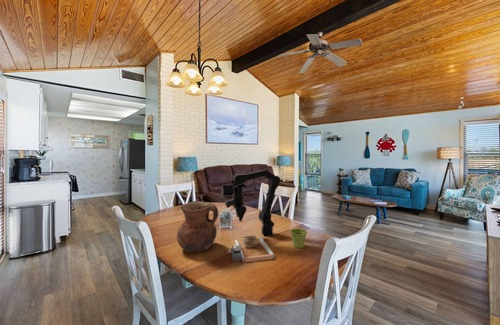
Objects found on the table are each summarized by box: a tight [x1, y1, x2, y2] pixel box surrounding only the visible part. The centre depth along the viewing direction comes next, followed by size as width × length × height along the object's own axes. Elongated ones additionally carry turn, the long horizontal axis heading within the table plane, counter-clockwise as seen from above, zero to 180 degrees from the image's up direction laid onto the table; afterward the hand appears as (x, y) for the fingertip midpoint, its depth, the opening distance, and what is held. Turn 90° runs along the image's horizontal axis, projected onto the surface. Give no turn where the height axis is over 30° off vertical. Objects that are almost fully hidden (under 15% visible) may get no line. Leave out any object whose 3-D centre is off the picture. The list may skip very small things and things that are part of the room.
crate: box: [242, 235, 258, 249], centre depth 126 cm, size 7×6×4 cm
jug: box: [176, 200, 219, 254], centre depth 122 cm, size 22×21×25 cm
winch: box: [227, 244, 243, 262], centre depth 108 cm, size 7×6×7 cm
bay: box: [234, 237, 275, 263], centre depth 119 cm, size 16×23×2 cm
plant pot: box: [290, 228, 308, 249], centre depth 125 cm, size 9×9×9 cm
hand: (239, 219), depth 135 cm, fingers open, 9 cm apart
